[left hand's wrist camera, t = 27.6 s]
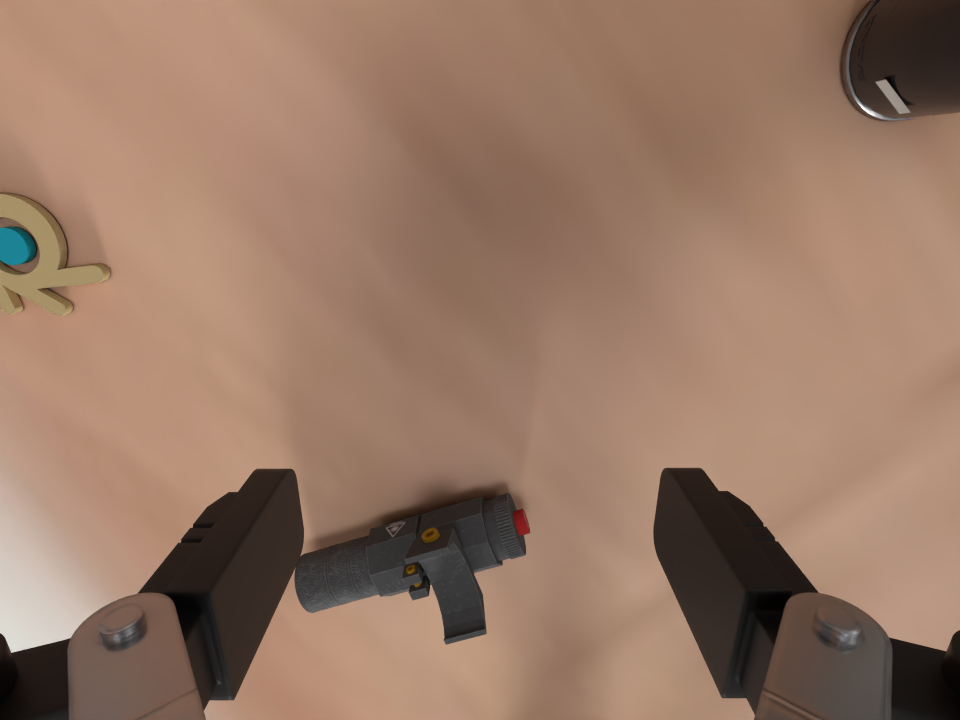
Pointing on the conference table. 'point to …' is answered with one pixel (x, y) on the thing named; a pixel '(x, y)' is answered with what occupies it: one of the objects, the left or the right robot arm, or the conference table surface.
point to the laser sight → (420, 561)
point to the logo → (50, 271)
